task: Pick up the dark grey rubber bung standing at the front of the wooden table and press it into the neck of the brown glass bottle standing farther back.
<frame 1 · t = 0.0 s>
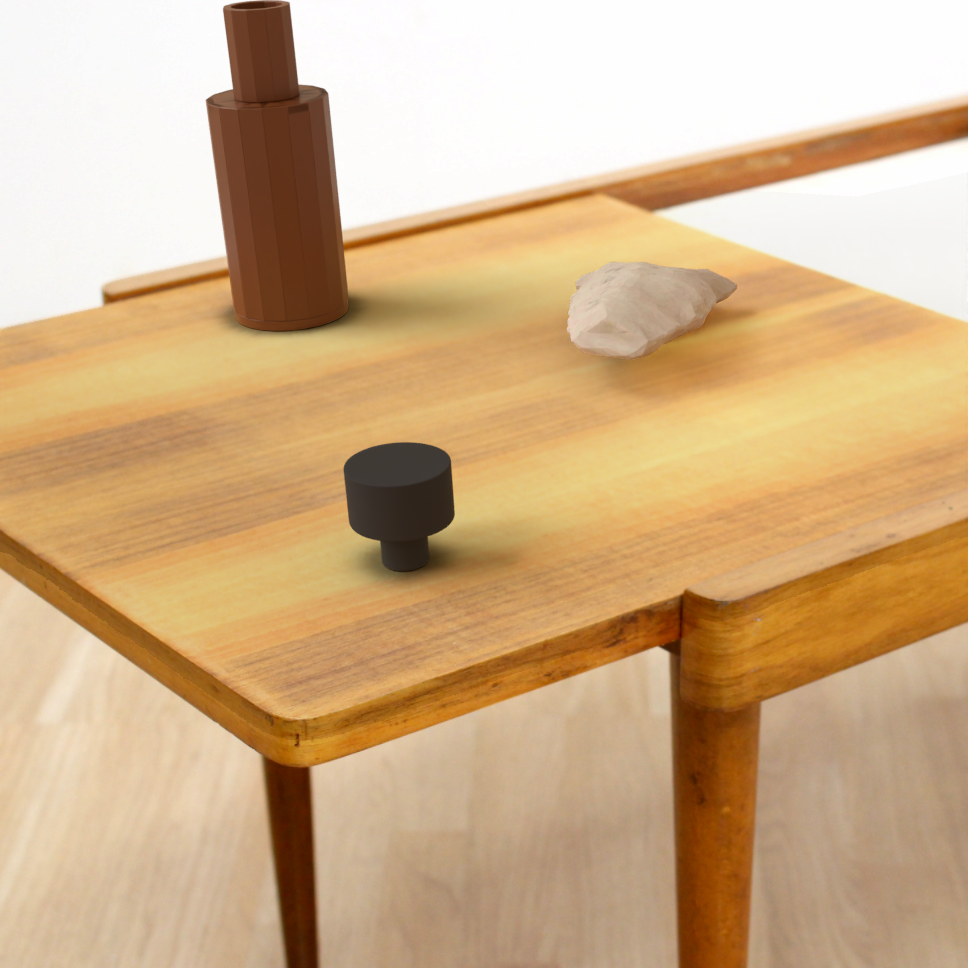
bottle: (292, 312, 95), on the table
bung: (405, 560, 65), on the table
decorative stone: (631, 349, 88), on the table
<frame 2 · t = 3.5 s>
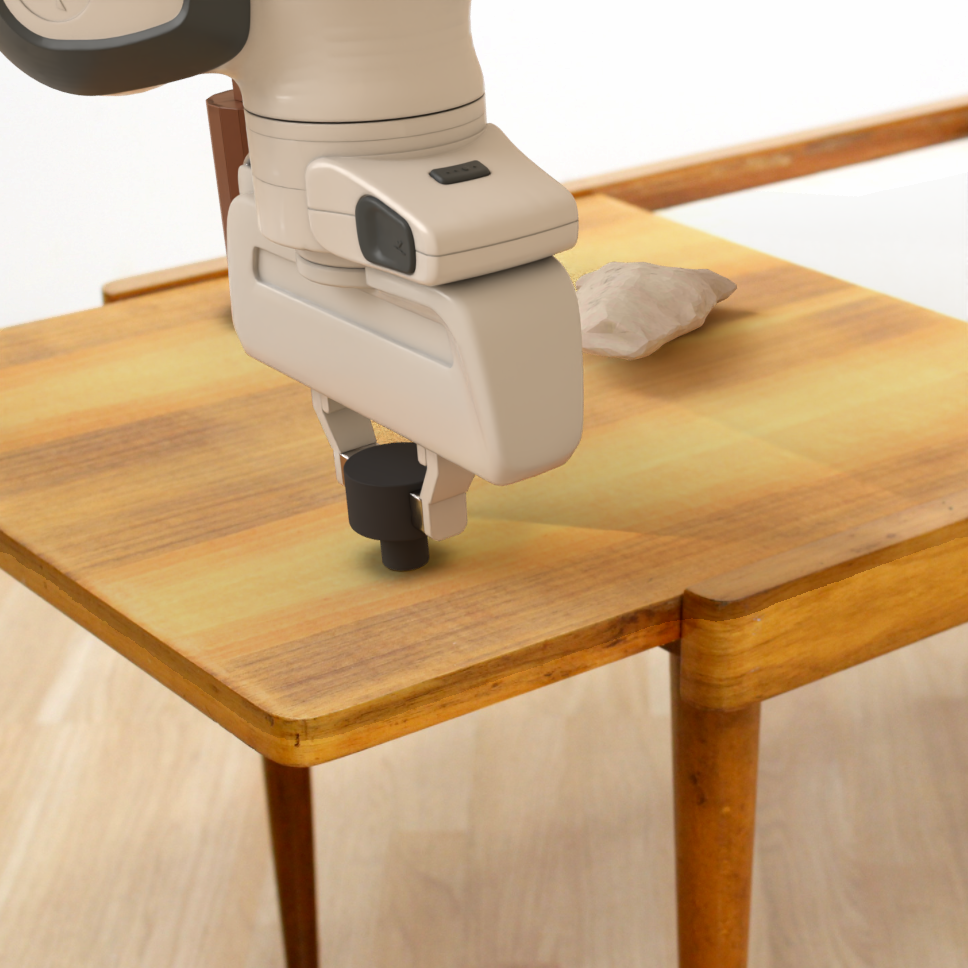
hand: (401, 509, 64), 2 cm above the table, tool pointing down, fingers closed on bung, 4 cm apart
bung: (405, 560, 65), on the table, touching gripper
everything else where it was.
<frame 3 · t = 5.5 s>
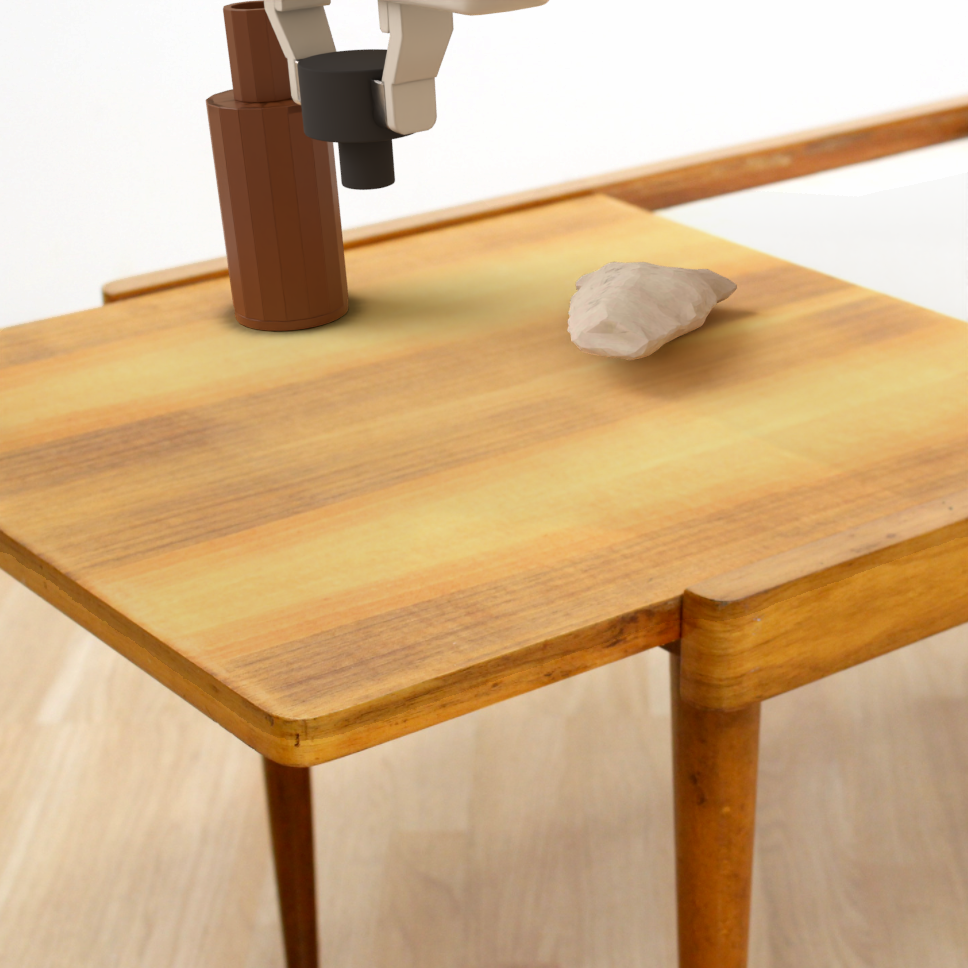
hand: (363, 117, 57), 18 cm above the table, tool pointing down, fingers closed on bung, 4 cm apart
bung: (368, 183, 58), point 16 cm above the table, touching gripper
everything else where it was.
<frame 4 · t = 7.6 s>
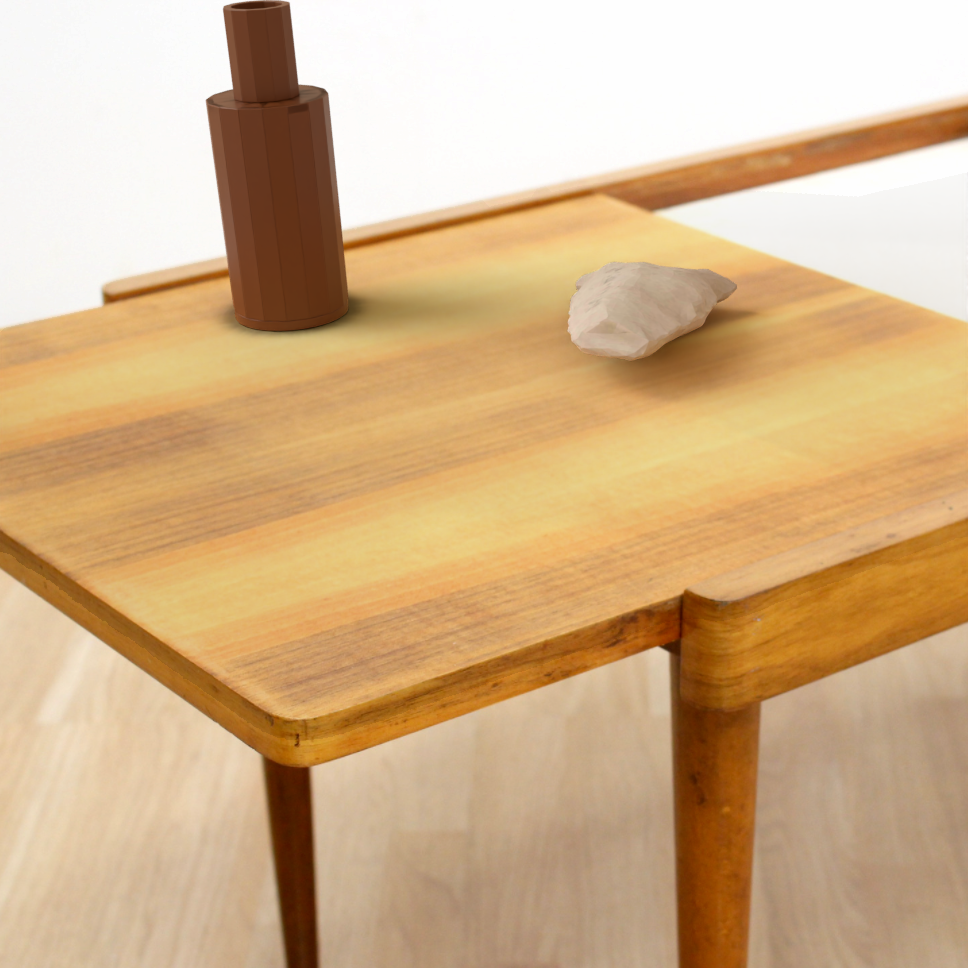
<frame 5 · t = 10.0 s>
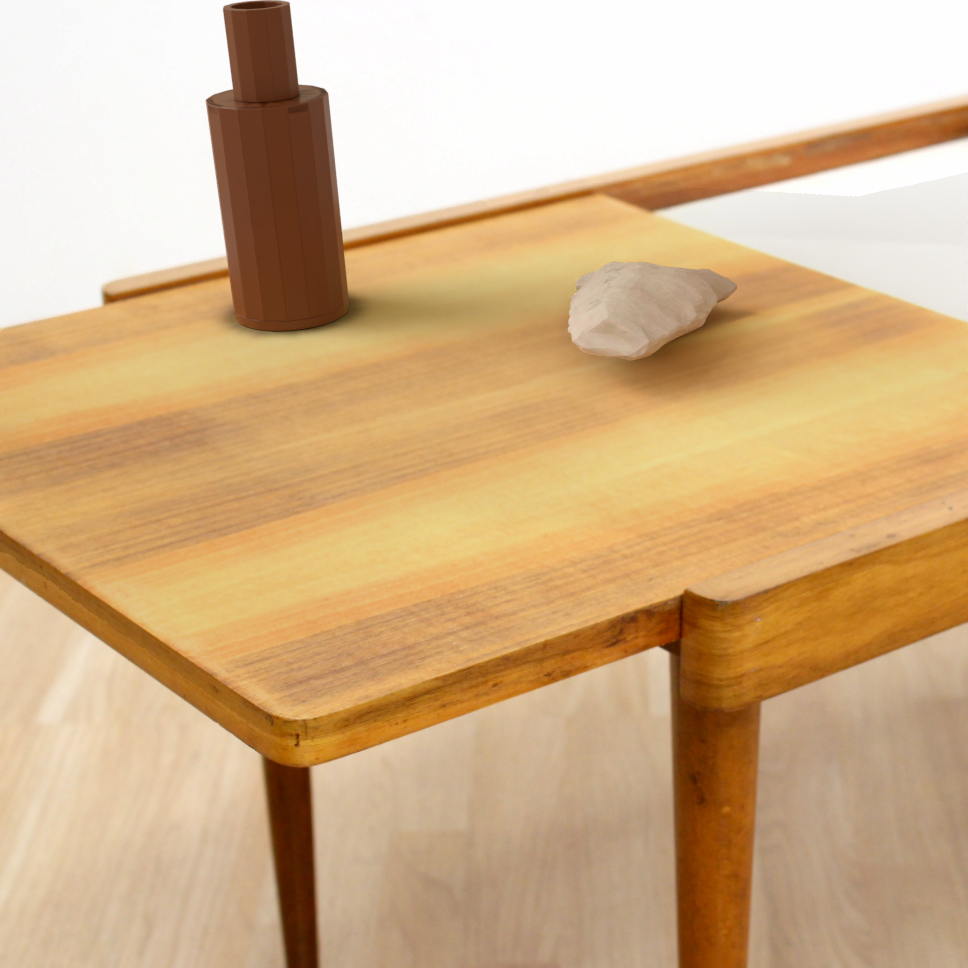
when the fingers open (18 cm above the table, at t = 12.1 s): bung stays where it is, resting on bottle.
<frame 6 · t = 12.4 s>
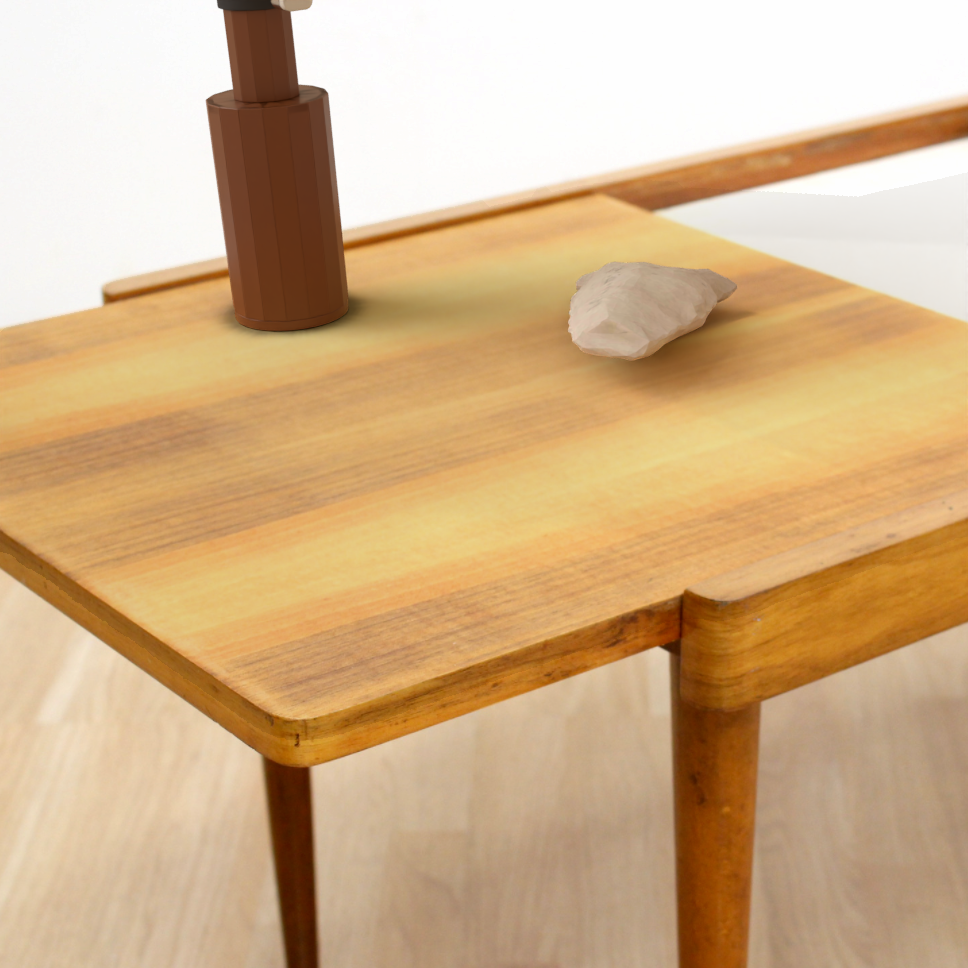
hand: (255, 2, 87), 18 cm above the table, tool pointing down, fingers open, 7 cm apart
bung: (261, 41, 88), point 16 cm above the table, touching bottle
everything else where it was.
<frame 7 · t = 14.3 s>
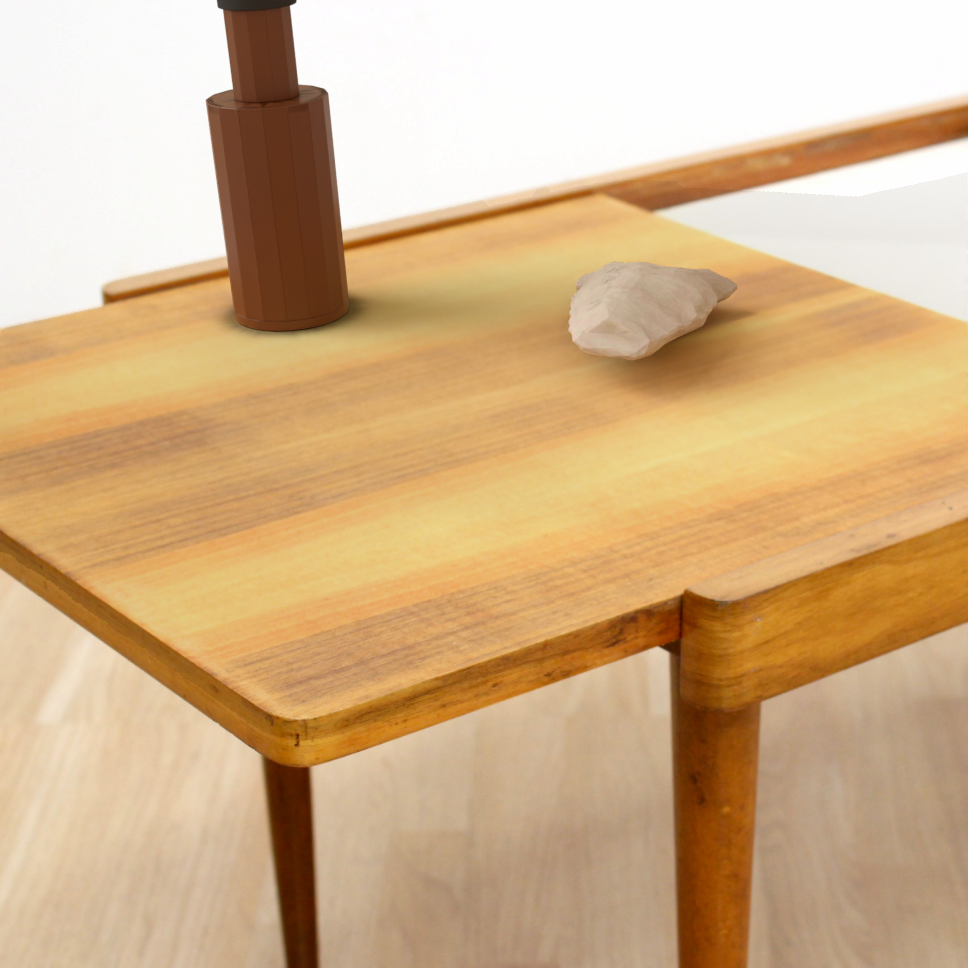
nothing on the table moved.
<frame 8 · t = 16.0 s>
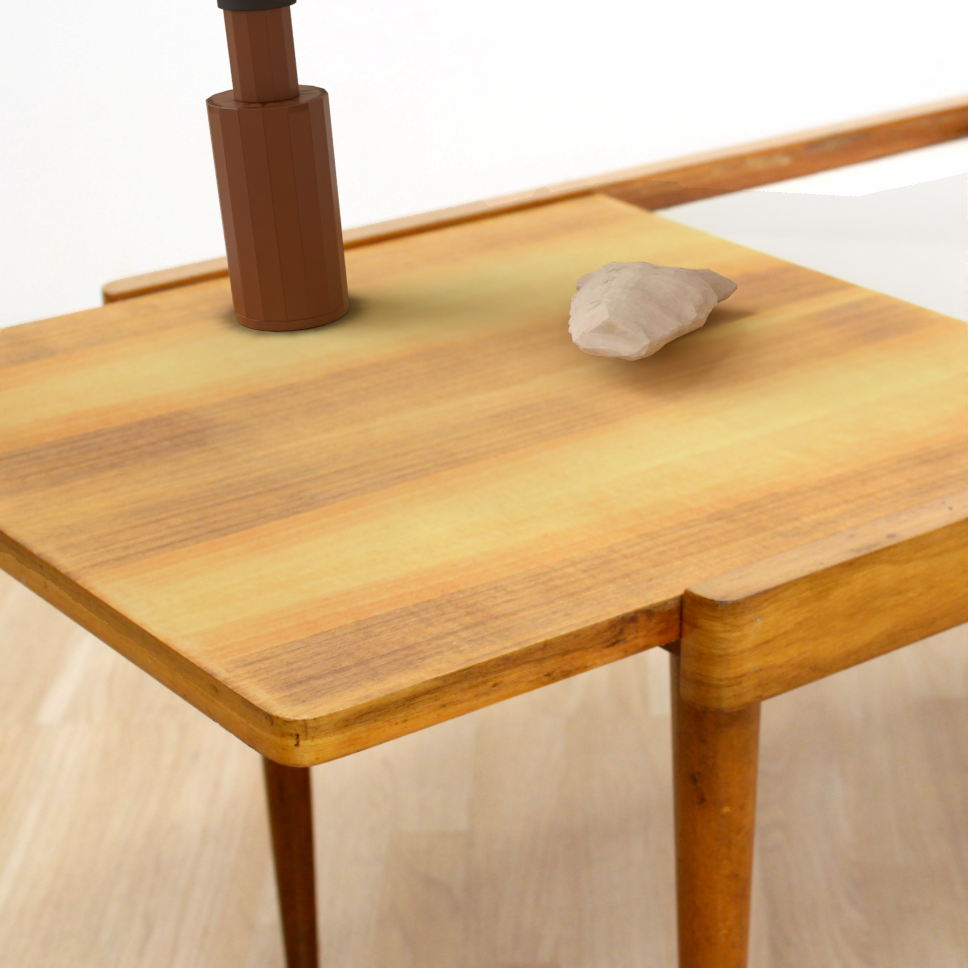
nothing on the table moved.
at the end: bung 0.1 cm off-centre in the bottle, point 16.0 cm above the bottle's base; bung tilted 0° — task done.
